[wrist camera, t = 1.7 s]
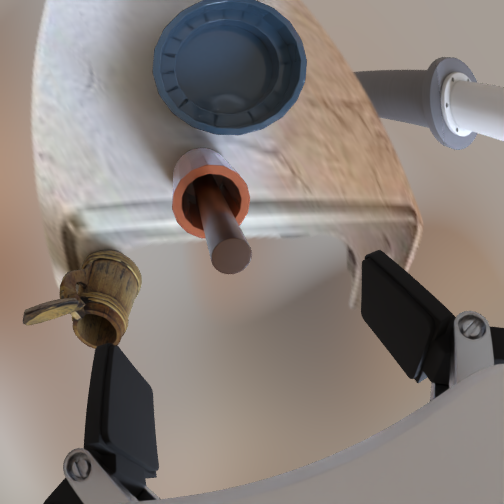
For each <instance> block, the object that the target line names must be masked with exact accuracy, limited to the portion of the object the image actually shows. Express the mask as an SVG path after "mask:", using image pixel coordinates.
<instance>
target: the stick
mask: <svg viewBox="0 0 504 504" xmlns="http://www.w3.org/2000/svg"><path fill="white" fill-rule="evenodd" d="M192 182H193V186H194V190H195V195H196V199H197V204H198V208H199V212H200V216H201V221H202V225H203V229H204V233H205V237H206V241H207V245H208V249H209V253H210V257H211V261H212V264H213V266H214V267H215V268H216V269H217V270H218V271H220V272H222V273H225V274H235V273H238V272H240V271H242V270H244V269H245V268H246V267H247V266H248V264H249V263H250V261H251V257H252V251H251V247H250V246H249V244H248V242H247V240H246V238H245V236H244V234H243V232H242V230H241V228H240V227H239V225H238V223H237V221H236V219H235V217H234V215H233V213H232V211H231V210H230V208H229V206H228V204H227V202H226V200H225V198H224V196H223V194H222V192H221V191H220V189H219V187H218V185H217V183H216V181H215V179H214V177H213V175H212V174H206V175H203V176H200V177H197V178H196V179H195V180H194V181H192Z"/></svg>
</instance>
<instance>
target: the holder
mask: <svg viewBox="0 0 504 504" xmlns="http://www.w3.org/2000/svg"><path fill="white" fill-rule="evenodd" d="M206 174H212V175H213V177H214V179H215V181H216V183H217V185H218V187H219V189H220V191H221V192H222V194H223V196H224V198H225V200H226V202H227V204H228V206H229V208H230V210H231V211H232V213H233V215H234V217H235V219H236V221H237V223H238V225H239V226H240V224H241V223H242V221H243V220H244V218H245V216H246V215H247V213H248V209H249V203H250V195H249V191H248V188H247V184H246V183H245V182H244V180H243V179H242V178H241V177H240V175H239V174H238V173H237V172H236V171H235V170H234V168H233V167H232V166H231V165H230V164H229V163H228V162H227V161H226V160H225V159H224V158H223V156H222V155H221V154H219V153H218V152H216V151H214V150H212V149H208V148H196V149H192V150H190V151H188V152H186V153H185V154H184V155H182V156H181V157H180V159H179V160H178V162H177V163H176V165H175V168H174V173H173V196H172V210H173V212H174V215H175V218H176V220H177V222H178V224H179V225H180V226H181V227H182V228H183V229H184V230H185V231H186V232H188V233H190V234H192V235H194V236H197V237H199V238H206V237H205V233H204V229H203V225H202V221H201V216H200V212H199V208H198V204H197V199H196V195H195V190H194V186H193V182H192V181H194V180H195V179H196V178H197V177H200V176H203V175H206Z"/></svg>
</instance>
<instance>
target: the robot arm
mask: <svg viewBox="0 0 504 504" xmlns="http://www.w3.org/2000/svg"><path fill="white" fill-rule="evenodd" d="M441 109H442V114H443V117H444V120H445V122H446V125H447V126H448V128H449V129H450V130H451V131H452V132H453V133H454V134H456V135H459V136H467V135H469V134H470V133H471V132H472V131H473V132H476V133H479V134H483V135H486V136H489V137H492V138H495V139H498V140H501V141H504V87H500V86H495V85H489V84H483V83H477V82H472V81H471V80H470V79H469V78H468V77H467V76H466V75H465V74H463V73H460V72H453V73H450V74H449V75H448V76H447V77H446V78H445V80H444V82H443V85H442V89H441ZM361 314H362V317H363V319H364V321H365V322H366V323H367V324H368V326H369V327H370V328H371V329H372V331H373V332H374V333H375V334H376V335H377V337H378V338H379V339H380V341H381V342H382V343H383V345H384V346H385V347H386V348H387V350H388V351H389V352H390V353H391V355H392V356H393V357H394V359H395V360H396V361H397V363H398V364H399V365H400V367H401V368H402V369H403V370H404V372H405V373H406V374H407V376H408V377H409V378H410V379H413V378H414V379H415V380H416V382H417V383H419V382H421V381H422V380H424V379H425V378H427V377H428V378H429V380H430V381H431V382H432V386H431V397H430V402H429V403H427V404H426V405H424V406H423V407H421V408H420V409H418V410H416V411H415V412H413V413H411V414H410V415H408V416H407V417H405V418H403V419H402V420H400V421H398V422H397V423H395V424H393V425H392V426H390V427H388V428H386V429H384V430H382V431H381V432H379V433H377V434H375V435H373V436H371V437H369V438H367V439H365V440H363V441H361V442H359V443H357V444H355V445H353V446H351V447H349V448H347V449H344V450H342V451H340V452H338V453H335V454H333V455H331V456H328V457H326V458H324V459H321V460H319V461H316V462H314V463H311V464H308V465H306V466H303V467H300V468H298V469H295V470H292V471H289V472H286V473H283V474H280V475H277V476H274V477H270V478H267V479H263V480H260V481H256V482H253V483H249V484H245V485H241V486H237V487H232V488H228V489H224V490H219V491H214V492H209V493H203V494H197V495H190V496H183V497H176V498H168V499H160V498H159V497H158V496H157V495H156V494H154V493H153V492H152V491H151V490H150V489H149V488H148V487H147V486H146V482H145V478H154V477H157V476H156V471H157V470H158V468H159V463H158V454H157V445H156V434H155V421H154V405H153V392H152V389H151V387H150V385H149V384H148V383H147V382H146V380H145V379H144V378H143V377H142V376H141V374H140V373H139V372H138V371H137V370H136V368H135V367H134V366H133V365H132V363H131V362H130V361H129V360H128V358H127V357H126V356H125V355H124V353H123V352H122V351H121V349H120V348H119V347H118V346H117V345H113V344H112V343H106V344H103V345H99V346H97V347H96V349H95V354H94V360H93V366H92V373H91V379H90V387H89V394H88V403H87V412H86V423H85V437H84V449H83V448H77V449H74V450H72V451H71V452H69V453H68V455H67V456H66V458H65V460H64V465H63V470H64V474H65V477H66V478H65V479H64V480H63V481H62V482H61V484H60V485H59V486H58V487H57V488H56V489H55V490H54V491H53V492H52V494H51V495H50V496H49V497H48V498H47V499H46V500H45V502H44V504H504V328H498V327H489V324H488V321H487V320H486V319H485V317H483V316H482V315H481V314H479V313H477V312H473V311H465V312H462V313H460V314H459V315H458V316H457V317H455V316H454V315H453V314H452V313H451V312H450V311H449V310H448V309H447V308H446V307H445V306H444V305H443V304H442V303H441V302H440V301H438V300H437V299H436V298H435V297H434V296H433V295H432V294H431V293H430V292H429V291H428V290H426V289H425V288H424V287H423V286H422V285H421V284H420V283H419V282H418V281H416V280H415V279H414V278H413V277H412V276H411V275H410V274H408V273H407V272H406V271H405V270H404V269H403V268H401V267H400V266H399V265H398V264H397V263H396V262H394V261H393V260H392V259H391V258H390V257H388V256H387V255H386V254H385V253H384V252H382V251H381V250H377V251H375V252H372V253H370V254H367V255H366V256H365V260H363V261H362V300H361Z"/></svg>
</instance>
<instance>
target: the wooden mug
mask: <svg viewBox="0 0 504 504" xmlns="http://www.w3.org/2000/svg"><path fill="white" fill-rule="evenodd" d="M141 283H142V278H141V273H140V271H139V269H138V267H137V266H136V265H135V263H134V262H133V261H132V260H130V258H128V257H126V256H125V255H124V254H122V253H120V252H117V251H113V250H102V251H99V252H96V253H93V254H91V255H89V256H88V257H87V258H86V260H85V261H84V263H83V265H82V268H81V270H74V271H71V272H68V273H67V274H66V275H65V276H64V277H63V280H62V282H61V285H60V299H58V300H54V301H50V302H46V303H42V304H39V305H37V306H34V307H31V308H29V309H26V310H25V312H24V317H23V323H24V324H25V325H33V324H37V323H42V322H44V321H48V320H51V319H55V318H57V317H60V316H63V315H66V314H69V313H70V314H71V315H72V321H73V330H74V332H75V334H76V336H77V337H78V338H79V339H80V340H81V341H82V342H83V343H84V344H86V345H87V346H89V347H92V348H95V349H96V347H97V346H99V345H103V344H106V343H112V344H113V345H118V344H119V342H120V340H121V337H122V336H123V335H124V333H125V332H126V329H127V327H128V317H129V314H130V311H131V308H132V305H133V303H134V300H135V298H136V297H137V295H138V293H139V290H140V288H141ZM76 284H78V285H79V289H78V294H77V292H76V287H75V285H76Z"/></svg>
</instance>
